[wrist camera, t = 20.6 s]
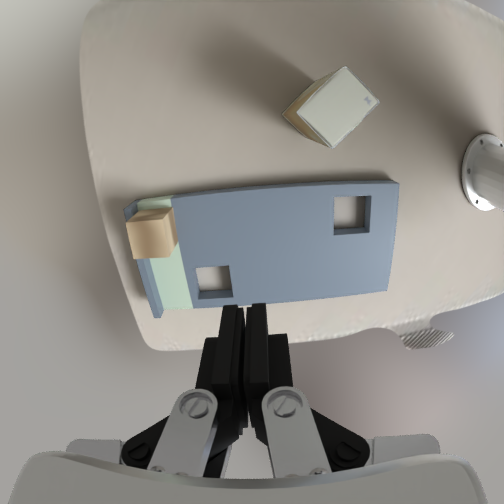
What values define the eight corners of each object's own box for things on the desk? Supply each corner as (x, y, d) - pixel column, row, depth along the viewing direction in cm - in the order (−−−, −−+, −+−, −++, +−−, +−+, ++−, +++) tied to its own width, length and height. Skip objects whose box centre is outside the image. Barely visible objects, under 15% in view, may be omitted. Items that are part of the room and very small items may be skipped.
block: (172, 207, 33) (162, 219, 29) (178, 241, 35) (169, 257, 31) (139, 210, 33) (125, 222, 29) (145, 243, 35) (133, 259, 31)
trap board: (392, 180, 34) (406, 187, 30) (382, 283, 41) (392, 298, 37) (135, 200, 35) (123, 209, 31) (161, 301, 42) (154, 318, 38)
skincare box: (314, 80, 29) (347, 61, 18) (340, 105, 30) (383, 100, 19) (278, 116, 31) (293, 112, 20) (305, 140, 32) (333, 150, 21)
